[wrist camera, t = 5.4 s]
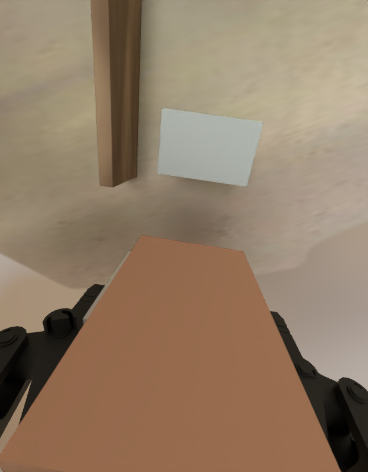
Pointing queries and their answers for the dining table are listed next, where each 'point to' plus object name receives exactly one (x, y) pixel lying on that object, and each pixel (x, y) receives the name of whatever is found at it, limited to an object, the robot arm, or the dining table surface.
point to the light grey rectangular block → (207, 146)
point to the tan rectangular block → (174, 378)
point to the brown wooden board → (116, 86)
